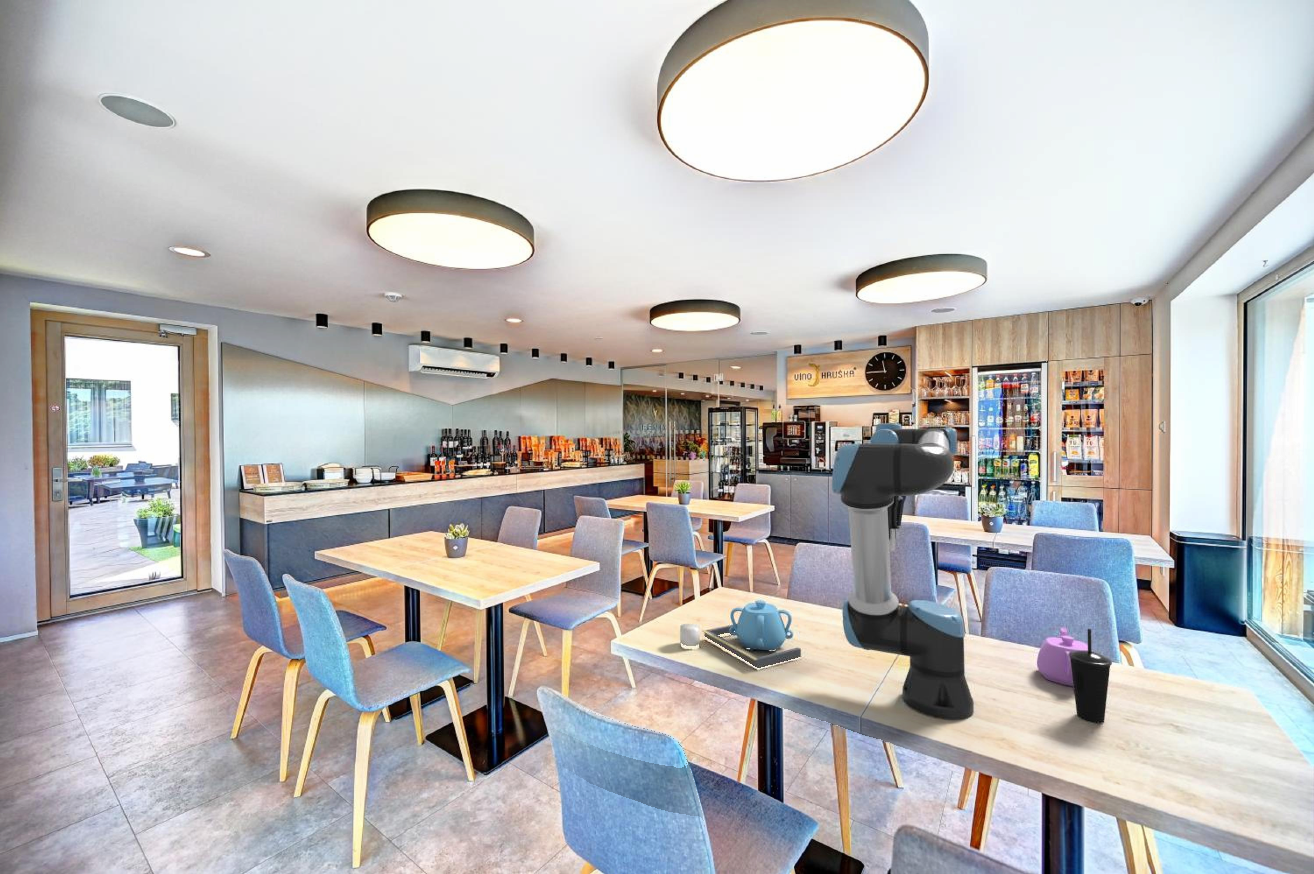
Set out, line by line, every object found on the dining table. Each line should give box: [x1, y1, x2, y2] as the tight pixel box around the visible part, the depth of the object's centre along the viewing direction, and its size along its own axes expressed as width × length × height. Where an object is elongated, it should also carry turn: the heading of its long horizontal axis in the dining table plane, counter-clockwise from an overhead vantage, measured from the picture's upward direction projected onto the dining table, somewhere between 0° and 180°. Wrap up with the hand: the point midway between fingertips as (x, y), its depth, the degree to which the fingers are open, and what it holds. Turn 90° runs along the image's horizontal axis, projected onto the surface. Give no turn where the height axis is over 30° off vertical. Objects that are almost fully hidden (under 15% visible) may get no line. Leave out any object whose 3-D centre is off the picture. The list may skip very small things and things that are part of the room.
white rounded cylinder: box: [679, 623, 701, 646], centre depth 167 cm, size 7×6×6 cm
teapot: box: [1036, 626, 1088, 687], centre depth 142 cm, size 13×20×11 cm
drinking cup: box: [1069, 628, 1113, 724], centre depth 122 cm, size 8×8×20 cm
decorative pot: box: [729, 599, 794, 651], centre depth 167 cm, size 16×16×14 cm
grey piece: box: [701, 623, 802, 668], centre depth 163 cm, size 26×17×3 cm, turn 29°
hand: (889, 549), depth 166 cm, fingers closed
